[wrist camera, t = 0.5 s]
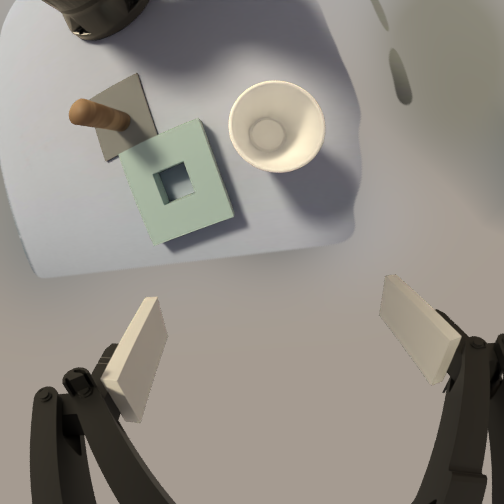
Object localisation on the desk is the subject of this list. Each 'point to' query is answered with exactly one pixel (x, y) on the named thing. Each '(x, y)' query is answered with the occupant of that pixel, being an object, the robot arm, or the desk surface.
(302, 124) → the cup
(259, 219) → the desk surface
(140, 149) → the socket block
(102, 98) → the mat
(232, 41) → the desk surface
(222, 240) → the desk surface
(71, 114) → the peg
